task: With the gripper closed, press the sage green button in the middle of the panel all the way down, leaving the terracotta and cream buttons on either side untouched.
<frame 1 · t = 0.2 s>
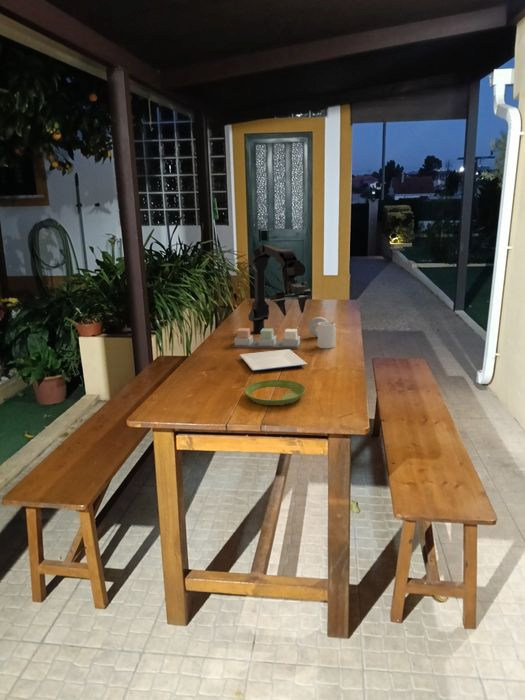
hand: (293, 314, 242), 15 cm above the table, tool pointing down, fingers open, 9 cm apart
button panel: (267, 345, 251), on the table
saucer: (275, 398, 188), on the table
plate: (272, 363, 225), on the table
mug: (327, 345, 249), on the table
sage button: (267, 334, 250), point 5 cm above the table, slide at 0.0 cm
cream button: (291, 334, 247), point 5 cm above the table, slide at 0.0 cm
donut: (319, 337, 262), on the table
terracotta button: (243, 333, 252), point 5 cm above the table, slide at 0.0 cm
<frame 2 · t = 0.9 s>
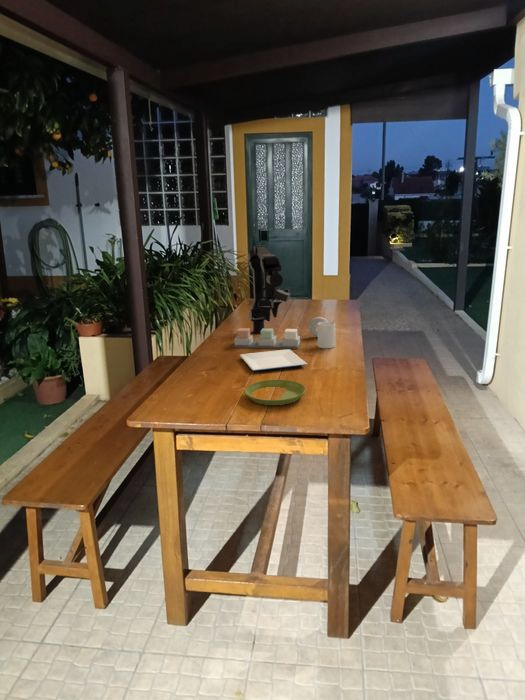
hand: (271, 319, 246), 12 cm above the table, tool pointing down, fingers open, 9 cm apart
nothing on the table moved.
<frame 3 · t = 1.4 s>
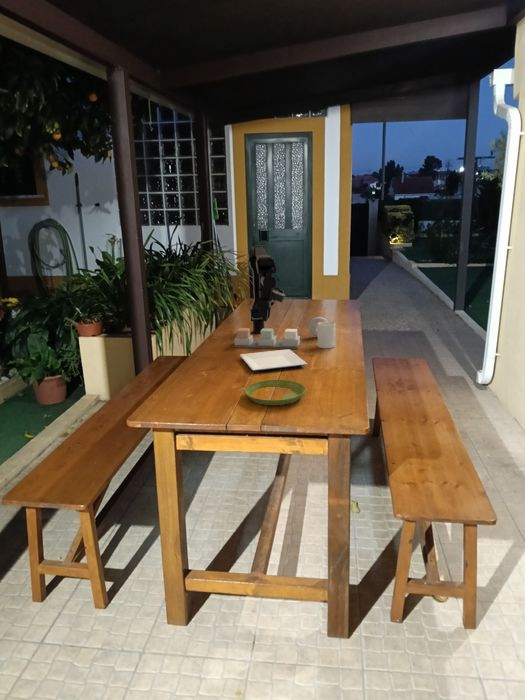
hand: (266, 319, 248), 12 cm above the table, tool pointing down, fingers open, 6 cm apart
nothing on the table moved.
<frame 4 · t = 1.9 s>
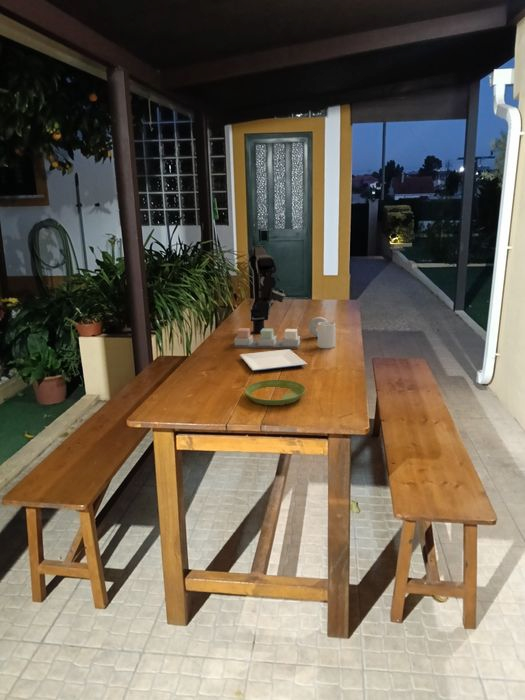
hand: (266, 319, 248), 12 cm above the table, tool pointing down, fingers closed
nothing on the table moved.
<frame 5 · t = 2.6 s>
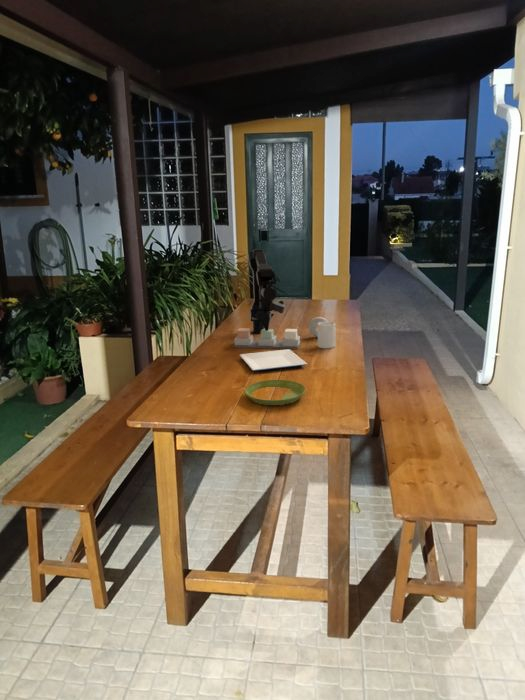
hand: (267, 330, 249), 7 cm above the table, tool pointing down, fingers closed, pressing on sage button
sage button: (267, 334, 250), point 5 cm above the table, slide at 0.3 cm, touching gripper
everything else where it was.
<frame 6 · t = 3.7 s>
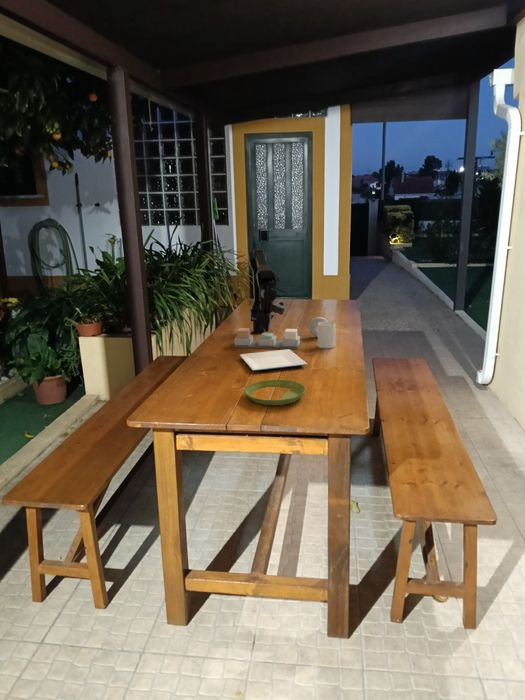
hand: (267, 331, 249), 6 cm above the table, tool pointing down, fingers closed
sage button: (267, 338, 250), point 3 cm above the table, slide at 2.1 cm
everything else where it was.
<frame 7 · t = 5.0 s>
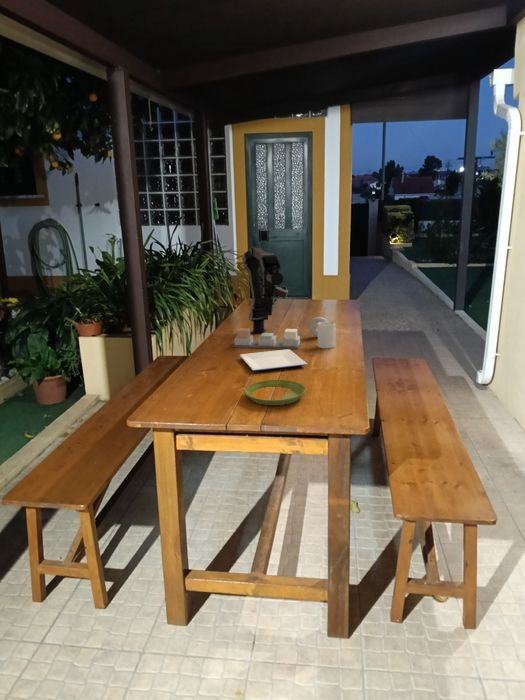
hand: (270, 315, 256), 12 cm above the table, tool pointing down, fingers closed
nothing on the table moved.
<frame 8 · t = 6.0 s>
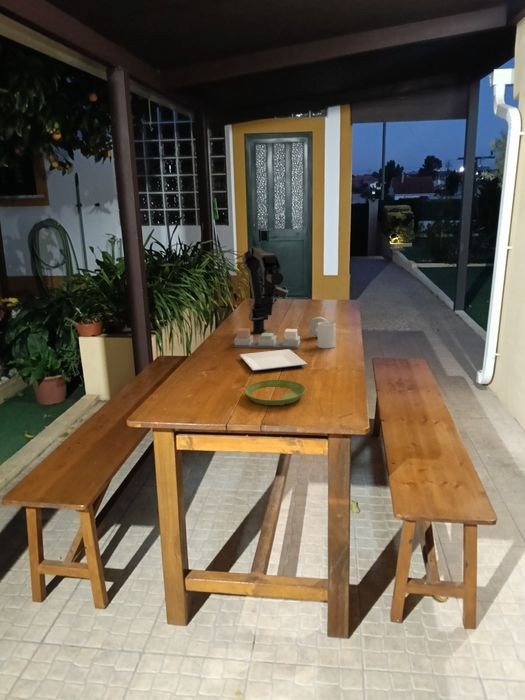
hand: (270, 315, 256), 12 cm above the table, tool pointing down, fingers closed
nothing on the table moved.
at the end: sage button slide at 2.1 cm; terracotta button slide at 0.0 cm; cream button slide at 0.0 cm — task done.
